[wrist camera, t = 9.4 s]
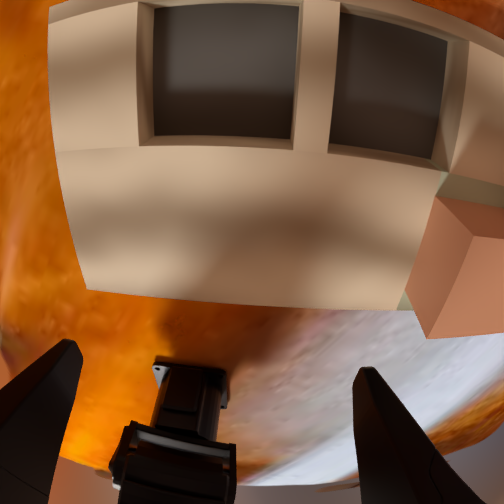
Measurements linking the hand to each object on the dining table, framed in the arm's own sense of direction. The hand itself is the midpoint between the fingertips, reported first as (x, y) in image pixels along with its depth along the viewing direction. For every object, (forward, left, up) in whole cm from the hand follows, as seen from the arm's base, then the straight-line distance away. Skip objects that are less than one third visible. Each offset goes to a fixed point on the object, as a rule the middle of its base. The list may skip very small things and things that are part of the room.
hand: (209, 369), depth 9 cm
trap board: (+4, -4, -11) cm, 12 cm away
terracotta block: (0, -13, -8) cm, 15 cm away
